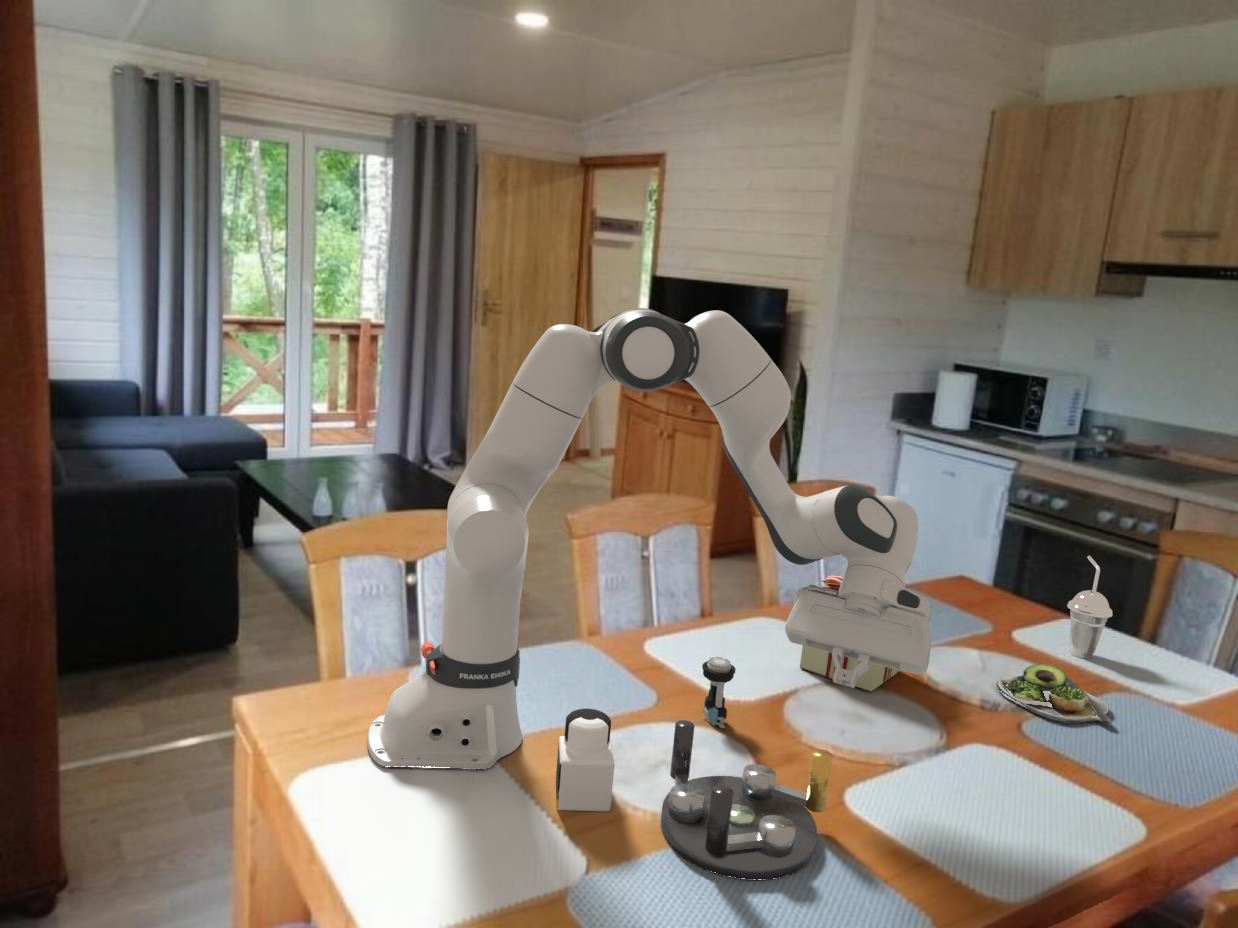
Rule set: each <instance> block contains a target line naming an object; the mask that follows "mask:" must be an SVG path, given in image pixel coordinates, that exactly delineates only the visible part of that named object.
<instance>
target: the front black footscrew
mask: <svg viewBox="0 0 1238 928" xmlns="http://www.w3.org/2000/svg"><path fill="white" fill-rule="evenodd" d="M732 801H733V790H732V789H730V788H729V787H726V786H722V785H718V786H714V787H713V788H712V791H711V800H710V808H709V817H708V826H707V835H706V843H705V849H706V850H707V851H708V852H709V853H711V854H714V855H722V854H724V853H726V851H734V850H743V849H751V848H760V849H761V850H762V851H763V852H764V853H766V854H768V855H771V856H776V857H784V856H788V855H790V854H791V853H792V851H793V846H794V839H795V831H796V827H795V825H794V823H793V822H792V821H790V820H789V819H787V818H785V817H782V816H777V815H768V816H765V817H763V818H762V819H761V820H760V824H759V832H755V833H746V834H737V835H728V834H729V826H730V818H731V809H732Z"/></svg>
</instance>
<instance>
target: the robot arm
mask: <svg viewBox="0 0 1238 928" xmlns="http://www.w3.org/2000/svg"><path fill="white" fill-rule="evenodd" d="M680 381H686V382H687V383H689V384H690V385H691V386H692V387H693V389H695V391H696V392H697V393H698V394H699V395H700V397H701V398H702V400H703V401H704V402H705V404H706V405H707V406H708V408H709V409H710V411H711V412H712V413H713V415H714V416H715V418H716V420H717V423H718V424H719V427H720V428H721V444H722V447H723V450H724V452H725V454H726V458H727V459H728V460H729V462H730V464H731V466H732V468H733V469H734V472H735V473H736V475H737V476H738V478H739V480H740V481H741V483H742V484H743V487H744V488H745V490H746V491H747V493H748V496H750V498H751V500H752V502H753V503H754V505H755V506H756V508H757V510H758V511H759V513H760V515H761V516H762V517H761V518H762V519H763V522H764V524H765V525H766V527H767V530H768V534H769V537H770V538H771V541H772V544H773V546H774V548H775V549H776V550H777V552H778V554H780V555H781V556H782V557H783V558H784V559H785V560H787V561H788V562H790V563H792V564H794V565H800V566H804V565H809V564H813V563H815V562H818V561H821V560H823V559H826V558H831V557H835V556H842V557H844V558H845V559H846V561H847V566H846V567H845V571H844V574H843V575H842V576H843V579H842V582H841V585H840V588H839V591H837V590H832V589H828V588H821V587H822V586H818V585H813V584H809V585H808V586H803V587H801V588H799V589H798V590H797V591H796V594H795V596H794V599H793V607H792V609H791V611H790V613H789V616H788V618H787V619H786V622H785V626H784V628H785V629H784V631H785V634H786V636H787V638H788V640H789V642H790V643H793V644H796V645H800V646H802V647H803V646H807V647H811V648H815V649H819V650H823V651H827V652H831V653H832V657H833V661H834V665H835V668H836V669H835V672H834V675H833V679H832V682H833V683H835V684H838V685H842V686H845V687H849V688H852V689H854V688H856V687H855V684H856V681H857V678H859V677H860V676H861V675H862V674H863V673H865V672H866V671H867V670H868V669H869V666H870V663H873V664H877V665H881V666H885V667H889V668H893V669H896V670H900V671H901V672H905V673H908V674H911V675H916V676H921V675H923V674H924V673H926V672H927V671H928V669H929V663H930V656H931V643H932V642H931V628H930V627H931V626H930V621H931V609H930V604H929V602H928V600H927V599H926V598H924V597H923V596H920V595H918V594H917V593H915V592H913V591H911V590H910V589H907V588H906V574H907V572H908V571H909V569H910V568H911V567H912V564H913V560H914V556H915V552H916V549H917V543H918V536H919V518H918V514H917V512H916V511H915V509H914V507H912V505H911V504H909V503H908V502H907V501H905V500H904V499H902V498H899V497H896V496H893V495H887V494H886V495H875V494H874V493H873V492H871V490H869V489H867V488H866V487H864V486H861V485H859V484H848V485H847V484H846V485H844V486H838V487H836V488H832V489H829V490H825V491H823V492H820V493H817V494H813V495H809V496H802V495H799V494H797V493H795V492H794V491H793V490H792V488H791V487H790V485H789V484H788V482H787V480H786V479H785V477H784V475H783V473H782V471H781V470H780V467H779V466H778V464H777V462H776V460H775V459H774V457H773V456H772V453H771V449H770V443H771V439H772V438H773V437H774V436H775V434H776V433H777V432H778V430H780V428H781V427H782V425H783V424H784V422H785V421H786V419H787V417H788V415H789V411H790V408H791V402H792V401H791V400H792V394H791V393H792V392H791V389H790V386H789V384H788V382H787V379H786V378H785V376H784V375H783V373H782V371H781V370H780V369H779V367H778V366H777V365H776V363H775V362H774V361H773V359H772V358H771V357H770V355H769V354H768V353H767V352H766V351H765V349H764V348H763V347H762V346H761V344H760V343H759V342H758V341H757V340H756V339H755V338H754V336H752V334H751V333H750V332H749V331H748V330H747V329H746V328H745V327H744V326H743V325H742V324H741V323H739V321H737V320H736V319H735V318H734V317H733V316H732V315H730V314H729V313H727V312H725V311H723V310H719V309H717V310H709V311H705V312H702V313H699V314H698V315H695V316H693V317H692V318H691V319H690V320H689V321H688V322H685V323H684V322H681V321H678V320H677V319H676V320H675V319H673V318H671V317H669V316H667V315H665V314H662V313H660V312H658V311H656V310H653V309H650V308H643V307H640V308H636V307H635V308H631V309H628V310H624V311H621V312H619V313H617V314H615V315H614V316H612V317H611V318H609V319H607V320H606V321H605V322H603V323H602V324H600V325H599V326H596V328H594V329H592V330H591V331H590V330H586V329H585V328H582V327H581V326H579V325H578V326H577V325H574V324H569V323H563V324H562V323H560V324H555V325H553V326H552V325H551V326H550V327H548V328H547V329H546V330H545V332H544V333H543V334H542V335H541V336H540V338H539V339H538V340H537V341H536V343H535V345H534V346H533V347H532V349H531V350H530V352H529V353H528V355H526V357H525V359H524V361H523V362H522V364H521V365H520V367H519V369H518V371H517V373H516V375H515V376H514V379H513V380H512V382H511V384H510V387H509V389H508V390H507V392H506V394H505V396H504V398H503V401H502V402H501V405H500V406H499V408H498V410H497V412H496V413H495V417H494V418H493V420H492V422H491V424H490V426H489V428H488V430H487V432H486V434H485V436H483V439H482V441H480V443H479V445H478V447H477V448H476V450H475V452H474V454H473V455H472V457H471V459H470V460H469V462H468V464H467V466H465V468H464V471H463V472H462V473H461V476H460V478H459V480H458V481H457V483H456V484H455V487H454V489H453V491H452V493H451V494H450V497H449V499H448V502H447V508H446V509H447V511H446V512H447V513H446V514H447V520H446V543H445V544H446V546H445V548H446V549H445V563H444V564H445V565H444V586H443V597H442V598H443V599H442V619H441V621H442V623H441V642H440V644H439V645H438V646H436V647H435V644H433V642H430V641H426V642H424V643H422V645H421V647H420V651H421V656H422V657H423V658H424V659H425V670H424V671H422V672H421V673H419V674H418V675H416V676H415V677H414V678H412V679H411V680H409V681H407V682H406V683H404V684H403V685H401V686H400V687H398V688H396V689H395V690H394V691H393V692H392V693H391V695H390V698H389V699H388V703H387V705H386V709H385V713H384V714H383V715H379V716H378V717H376V718H375V719H374V720H373V721H372V722H371V724H370V726H369V728H368V734H367V748H368V752H369V754H370V757H371V758H372V760H374V761H375V762H376V763H377V764H378V765H379V766H381V765H382V766H381V767H383V766H390V767H394V766H397V767H398V766H399V767H401V766H405V767H408V766H414V767H415V766H421V767H422V766H424V767H426V766H431V767H434V766H435V767H450V768H462V769H461V770H464V769H463V768H467V769H466V770H476V769H478V768H479V769H484V770H488V769H491V766H492V767H493V766H494V764H496V763H497V761H499V759H501V758H503V757H505V756H507V755H510V754H512V752H514V751H516V749H518V748H519V746H520V745H521V743H522V740H523V732H522V728H521V724H520V720H519V713H518V703H517V686H518V682H519V679H520V669H521V666H520V665H521V656H520V655H521V654H520V650H519V648H518V640H519V639H518V638H519V625H520V623H519V622H520V609H521V607H520V606H521V596H522V591H523V584H524V578H525V572H526V571H525V570H526V569H525V568H526V562H527V553H528V546H529V545H528V544H529V535H530V534H529V532H530V531H529V524H528V522H527V513H528V511H529V509H530V506H531V505H532V503H533V502H534V499H535V498H536V496H537V495H538V493H539V492H540V491H541V489H542V488H543V486H544V485H545V483H547V480H548V479H549V478H550V476H551V475H552V474H553V473H554V472H555V471H556V470H557V469H558V468H559V466H560V463H561V462H562V460H563V458H564V456H565V454H566V452H567V450H568V448H569V446H570V444H571V442H572V440H573V438H574V436H575V434H576V433H577V431H578V428H579V426H580V424H581V422H582V421H583V418H584V416H585V415H586V413H587V410H588V409H589V406H590V404H591V402H592V400H593V399H594V397H595V396H596V394H597V393H598V392H599V390H601V389H602V388H603V387H604V386H606V385H607V384H610V383H612V382H617V383H619V384H620V385H622V386H624V387H625V388H628V389H630V390H632V391H637V392H641V393H642V392H653V391H654V392H655V391H657V390H661V389H663V388H666V387H668V386H671V385H673V384H675V383H677V382H680ZM844 656H846V657H850V658H854V659H858V663H859V665H858V666H857V667H856V668H854V669H853V670H852V671H850V670H846V669H842V668H841V667H840V664H839V661H840V662H843V660H844ZM900 671H899V672H900ZM468 768H470V769H468ZM473 768H474V769H473ZM487 768H488V769H487Z"/></svg>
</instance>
